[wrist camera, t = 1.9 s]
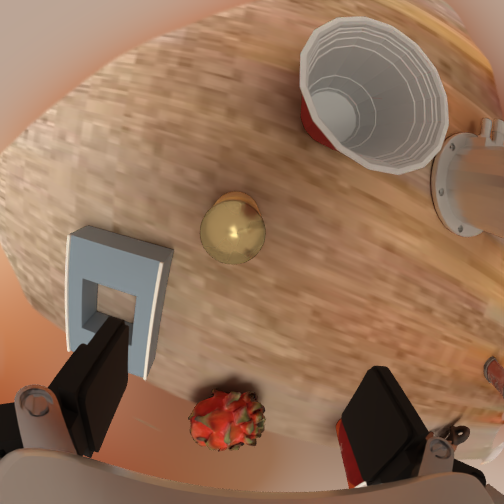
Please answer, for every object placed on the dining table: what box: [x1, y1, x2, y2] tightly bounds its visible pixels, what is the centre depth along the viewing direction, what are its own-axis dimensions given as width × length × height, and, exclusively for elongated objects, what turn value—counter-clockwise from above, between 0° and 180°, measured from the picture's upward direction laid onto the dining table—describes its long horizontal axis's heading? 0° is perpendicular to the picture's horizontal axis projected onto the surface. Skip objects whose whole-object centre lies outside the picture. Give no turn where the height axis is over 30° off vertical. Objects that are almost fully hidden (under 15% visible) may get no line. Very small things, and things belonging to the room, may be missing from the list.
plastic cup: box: [300, 17, 449, 175], centre depth 19 cm, size 11×11×12 cm
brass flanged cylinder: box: [200, 191, 266, 265], centre depth 24 cm, size 4×4×8 cm
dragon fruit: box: [188, 388, 266, 452], centre depth 31 cm, size 8×8×12 cm
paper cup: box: [336, 419, 382, 489], centre depth 30 cm, size 8×8×14 cm
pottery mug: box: [426, 426, 470, 452], centre depth 39 cm, size 12×9×8 cm
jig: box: [65, 225, 174, 380], centre depth 28 cm, size 14×10×4 cm
